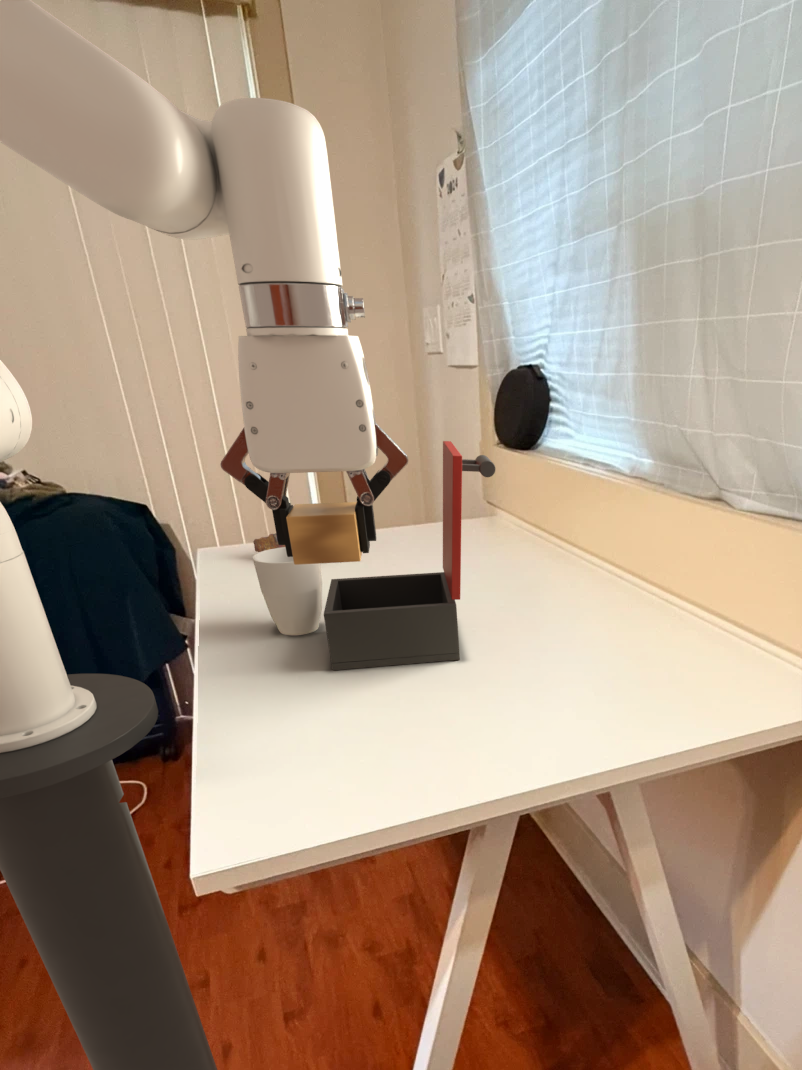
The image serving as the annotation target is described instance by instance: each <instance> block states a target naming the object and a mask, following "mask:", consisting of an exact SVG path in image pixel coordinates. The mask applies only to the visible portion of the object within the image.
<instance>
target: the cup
mask: <svg viewBox="0 0 802 1070" xmlns="http://www.w3.org/2000/svg"><path fill="white" fill-rule="evenodd" d="M252 561H253V566H254V569H255V573H256V577H257V580H258V584H259V588H260V591H261V593H262V596H263V599H264V602H265V605H266V607H267V610H268V612H269V615H270V616H271V619H272V620H273V622H274V624H275V625H276V627H277V629H278V631H279V632H280V634H282V635H284V636H303V635H309V634H311V633H313V632H316V631H317V630H319V627H320V622H321V615H322V610H323V575H322V563H319V564H299V565H295V564H294V560H293V557H287V553H286V547H281V548H274V549H269V550H265V551H262V552H257V553H255V554H253V555H252Z"/></svg>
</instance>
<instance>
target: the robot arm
mask: <svg viewBox="0 0 802 1070" xmlns="http://www.w3.org/2000/svg"><path fill="white" fill-rule="evenodd" d="M326 141H327V140H326V137H325V133H324V130H323V128H322V125H321V124H320V122H319V120H318V119H317V118H316V116H315V115H314V114H312V113H311V112H310V111H309V110H308V109H306V108H304V107H303V106H300V105H298V104H294V103H292V102H289V101H284V100H281V99H275V98H265V97H241V98H236V99H232V100H228V101H225V102H223V103H221V104H220V105H219V106H218V107H217V108H216V109H215V111H214V113H213V116H212V120H208V119H201V118H198V117H195V116H194V115H192V114H190V113H188V112H187V111H186V112H185V111H183V110H181V109H180V108H179V107H178V106H176V105H175V104H174V103H173V102H172V101H171V100H170V99H169V98H168V97H166V96H165V95H164V94H163V93H161V91H159V90H157V89H156V88H155V87H154V86H153V85H151V84H150V83H149V82H148V81H146V80H145V79H143V78H142V77H141V76H140V75H138V74H137V73H135V72H134V71H133V70H131V69H130V68H128V67H127V66H125V65H124V64H122V63H121V62H120V61H118V60H117V59H116V58H114V57H113V56H111V55H110V54H109V53H107V52H105V51H104V50H102V49H101V48H100V47H98V46H97V45H96V44H94V43H93V42H91V41H90V40H89V39H87V38H85V37H84V36H83V35H82V34H80V33H78V32H77V31H75V30H74V29H73V28H72V27H70V26H68V24H66V23H64V22H63V21H61V19H59V18H57V17H56V16H55V15H53V14H52V13H50V12H49V11H47V10H46V9H44V8H43V7H42V6H40V5H39V4H38V3H36V2H34V1H33V0H0V143H1V144H2V145H4V146H6V147H7V148H9V149H10V150H12V151H13V152H15V153H16V154H18V155H19V156H21V157H23V158H25V159H26V160H28V161H29V162H31V163H33V164H34V165H35V166H37V167H38V168H40V169H42V170H43V171H45V172H47V173H48V174H49V175H51V176H52V177H54V178H55V179H57V180H59V181H61V182H62V183H64V184H65V185H66V186H68V187H70V188H71V189H73V190H74V191H76V192H77V193H79V194H81V195H83V196H84V197H86V198H87V199H88V200H90V201H92V202H93V203H95V204H97V205H99V206H100V207H102V208H103V209H106V210H107V211H110V212H111V213H113V214H115V215H117V216H119V217H121V218H125V219H127V220H129V221H133V222H135V223H138V224H140V225H142V226H145V227H147V228H149V229H151V230H154V231H156V232H158V233H162V234H163V235H166V236H168V237H172V238H175V239H178V240H179V239H180V240H186V241H187V240H189V241H192V240H193V241H195V240H196V241H197V240H206V239H211V238H212V239H213V238H217V237H224V236H229V240H230V245H231V251H232V252H231V253H232V259H233V263H234V270H235V275H236V281H237V284H238V291H239V297H240V302H241V308H242V313H243V318H244V325H245V331H246V335H239V336H238V342H237V343H238V344H237V346H238V347H237V352H238V353H237V354H238V355H237V356H238V378H239V380H238V381H239V388H240V389H239V391H240V401H241V411H242V412H241V413H242V421H243V428H242V429H241V431H240V432H239V434H238V435H237V437H236V439H234V442H233V443H232V445H231V446H230V447H229V449H228V451H227V452H226V454H225V455H224V456H223V458H222V459H221V461H220V468H221V470H222V471H224V473H226V474H227V475H229V476H231V477H232V478H233V479H235V480H236V481H237V482H238V483H240V484H242V485H244V486H245V488H246V489H247V490H249V492H251V493H252V494H254V495H255V496H256V497H258V498H259V499H260V500H261V501H262V502H263V503H265V505H266V507H267V508H268V509H270V510H271V512H272V517H273V523H274V529H275V533H276V535H277V540H278V544H279V545H285V547H286V553H287V557H293V555H292V549H291V543H290V537H289V531H288V525H287V519H286V517H287V515H288V514H289V513H290V511H291V510H292V508H293V507H294V505H293V504H292V503H291V502H290V501H289V497H288V496H287V492H288V486H289V482H290V475H291V474H302V473H304V474H305V473H307V474H309V473H333V472H334V473H336V472H346V474H347V475H348V478H349V481H350V483H351V485H352V487H353V489H354V491H355V493H356V502H357V503H356V506H355V512H356V519H357V527H358V535H359V543H360V551H361V552H362V554H370V549H371V548H370V547H371V543H370V542H377V529H376V521H375V512H374V502H375V501H376V500H377V499H378V497H379V496H380V495H381V494H382V493H383V492H384V491H385V489H386V488H387V487H388V486H389V484H390V483H391V482H392V481H393V480H394V479H395V478H396V477H397V476H398V475H399V474H400V473H401V472H402V471H403V470H404V468H406V466H407V465H408V464H409V456H408V455H407V453H405V451H404V450H403V449H402V448H401V447H400V446H399V445H398V444H397V443H396V442H395V440H393V439H392V437H390V435H388V434H387V432H386V431H385V430H384V429H383V428H382V427H381V426H380V425H379V424H378V423H377V421H376V416H375V415H376V414H375V409H374V402H373V395H372V390H371V383H370V382H371V381H370V377H369V371H368V368H367V367H368V366H367V363H366V359H365V355H364V351H363V347H362V344H361V341H360V337H359V335H349V329H348V328H349V324H348V323H352V321H353V320H354V321H355V320H356V319H364V318H365V319H366V311H365V303H364V302H365V301H364V298H363V297H354V295H349V294H348V292H345V289H344V288H343V287H344V285H343V275H342V269H341V261H340V253H339V251H340V250H339V246H338V245H339V244H338V235H337V226H336V216H335V208H334V198H333V190H332V183H331V181H332V180H331V174H330V165H329V157H328V155H329V154H328V148H327V143H326ZM32 431H33V415H32V411H31V407H30V403H29V401H28V398H27V396H26V394H25V392H24V390H23V388H22V386H21V384H20V383H19V382H18V380H17V378H16V377H15V376H14V375H13V374H12V372H11V371H10V369H9V368H8V366H7V365H5V363H4V362H3V361H2V360H1V359H0V462H3V461H6V460H8V459H11V458H13V457H14V456H16V455H17V454H18V453H20V452H21V451H22V450H23V449H24V448H25V446H27V444H28V442H29V440H30V437H31V435H32ZM379 450H380V451H381V452H382V453H383V454H384V455H385V457H386V458H387V460H386V462H385V463H384V465H382V466H381V468H380V469H378V470H377V471H376V472H375V474H374V475H373V476H372V477H371V479H370V477H369V475H368V473H367V471H366V469H368V468H370V467H371V466H373V465H374V464H375V462H376V460H377V457H378V454H379ZM248 456H249V459H250V462H251V464H252V465H253V467H254V468H255V469H257V470H259V471H262V472H265V473H269V477H268V478H269V479H266V478H265V477H264V476H262V474H260V473H258V472H256V471H254V470H253V469H251V467H249V466H248V465H247V463H246V458H247V457H248ZM67 675H68V674H67V671H66V669H65V665H64V663H63V660H62V657H61V654H60V651H59V649H58V646H57V643H56V640H55V637H54V634H53V632H52V628H51V626H50V623H49V620H48V617H47V615H46V611H45V608H44V605H43V603H42V600H41V597H40V594H39V592H38V589H37V586H36V583H35V580H34V577H33V575H32V572H31V569H30V566H29V563H28V560H27V557H26V554H25V551H24V550H23V548H22V545H21V542H20V539H19V536H18V533H17V531H16V529H15V526H14V523H13V522H12V519H11V517H10V516H9V513H8V512H7V510H6V508H5V506H4V505H3V504H2V502H1V501H0V753H5V752H11V751H16V750H20V749H24V748H29V747H32V746H35V745H38V744H42V743H45V742H48V741H50V740H53V739H55V738H58V737H60V736H62V735H65V734H67V733H69V732H71V731H73V730H74V729H76V728H78V727H79V726H81V725H82V724H84V723H85V722H86V721H88V720H89V719H90V718H91V716H92V715H93V714H94V713H95V710H96V708H97V706H96V701H95V699H94V696H93V694H92V693H91V692H90V691H89V690H86V689H84V688H81V687H77V686H71V685H70V682H69V680H68V677H67Z"/></svg>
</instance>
